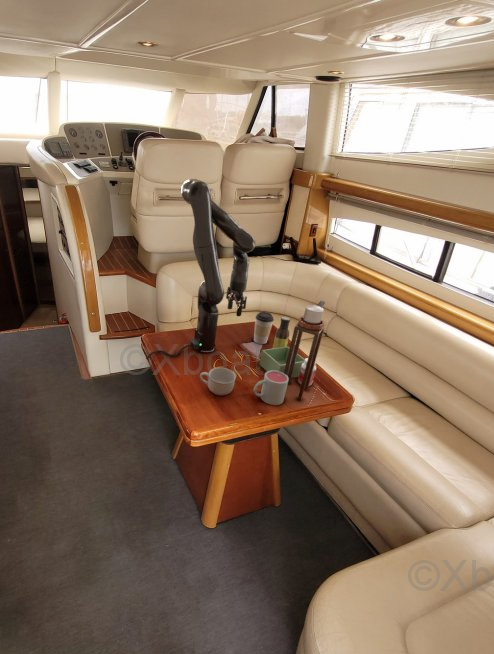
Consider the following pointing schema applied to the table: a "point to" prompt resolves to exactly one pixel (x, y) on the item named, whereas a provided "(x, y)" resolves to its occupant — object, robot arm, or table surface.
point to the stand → (317, 332)
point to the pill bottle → (304, 371)
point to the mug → (273, 387)
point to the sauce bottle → (282, 333)
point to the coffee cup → (262, 327)
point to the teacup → (219, 380)
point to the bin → (279, 360)
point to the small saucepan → (313, 314)
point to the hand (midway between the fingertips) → (234, 312)
